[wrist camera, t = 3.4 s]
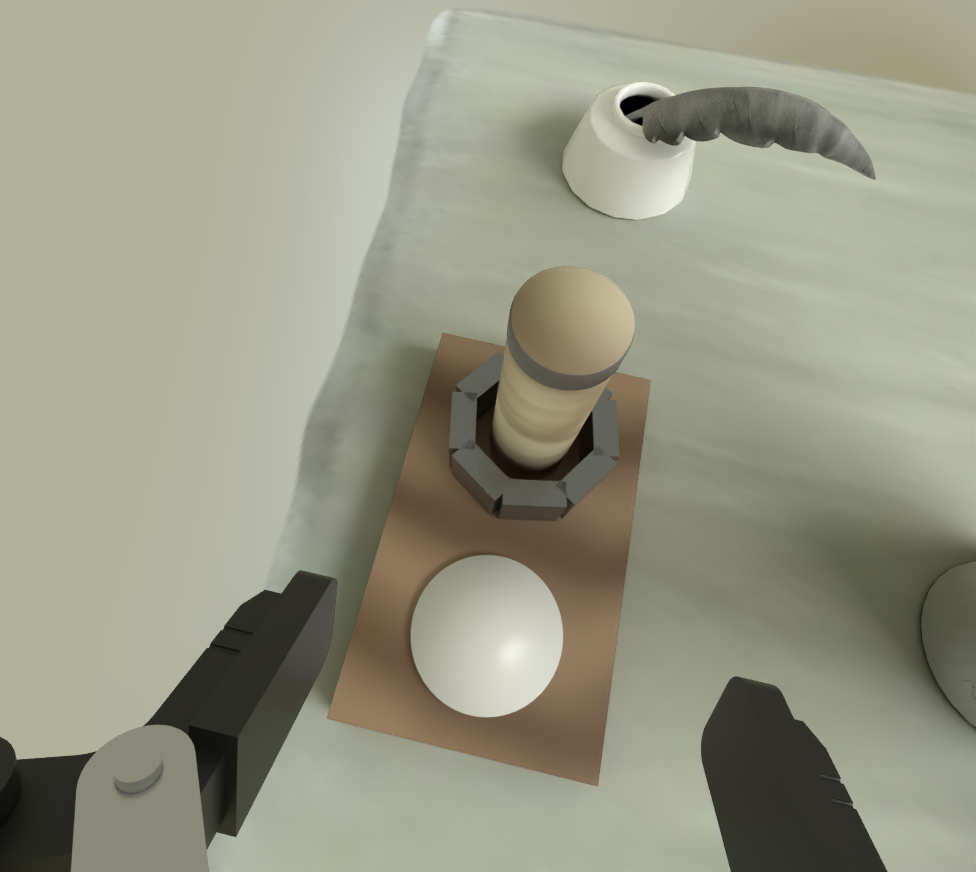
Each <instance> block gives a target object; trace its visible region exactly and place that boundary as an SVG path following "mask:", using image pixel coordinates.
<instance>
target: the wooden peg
mask: <svg viewBox="0 0 976 872" xmlns="http://www.w3.org/2000/svg"><path fill="white" fill-rule="evenodd" d="M634 329H635V319H634V313H633V310H632V307H631V305H630V303H629V300H628V299H627V297H626V296H625V294H624V293H623V292H622V290H621V289H620V288H619V287H618V286H617V285H616V284H615V283H613V282H612V281H611V280H609V279H608V278H606V277H605V276H603V275H601V274H599V273H597V272H595V271H592V270H589V269H585V268H581V267H574V266H562V267H554V268H550V269H547V270H544V271H541V272H539V273H537V274H536V275H534V276H533V277H531V278H530V279H529V280H527V281H526V282H525V283H524V284H523V285H522V287H521V288H520V289H519V291H518V292H517V294H516V296H515V297H514V300H513V302H512V305H511V309H510V315H509V321H508V327H507V341H506V347H505V353H504V358H503V364H502V370H501V376H500V381H499V387H498V393H497V399H496V405H495V410H494V416H493V422H492V428H491V434H490V440H489V449H490V454H491V457H492V459H493V461H494V463H495V465H496V466H497V467H498V468H499V469H500V470H501V471H502V472H503V473H504V474H505V475H507V476H509V477H510V478H513V479H521V480H542V479H544V478H546V477H548V476H550V475H551V474H552V473H554V472H555V471H556V470H557V468H558V467H559V466H560V464H561V462H562V461H563V459H564V457H565V455H566V454H567V452H568V450H569V449H570V447H571V445H572V443H573V442H574V440H575V438H576V436H577V435H578V433H579V431H580V430H581V428H582V426H583V424H584V423H585V421H586V419H587V418H588V416H589V414H590V412H591V411H592V409H593V407H594V406H595V404H596V402H597V400H598V399H599V397H600V395H601V394H602V392H603V390H604V388H605V387H606V385H607V383H608V382H609V380H610V378H611V376H612V375H613V374H614V373H615V371H616V370H617V369H618V367H619V366H620V364H621V362H622V361H623V359H624V357H625V355H626V354H627V352H628V350H629V348H630V346H631V344H632V341H633V337H634Z"/></svg>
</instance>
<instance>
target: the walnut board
mask: <svg viewBox="0 0 976 872" xmlns="http://www.w3.org/2000/svg"><path fill="white" fill-rule="evenodd" d="M498 351H500V352H501V353H502V354H503V355H504V353H505V347H503V346H498V345H494V344H489V343H485V342H481V341H476V340H472V339H468V338H463V337H459V336H454V335H450V334H446V333H442V337H441V340H440V343H439V347H438V350H437V353H436V357H435V360H434V363H433V367H432V370H431V373H430V377H429V380H428V383H427V387H426V390H425V393H424V397H423V400H422V403H421V407H420V410H419V413H418V417H417V420H416V423H415V427H414V430H413V433H412V437H411V440H410V443H409V447H408V450H407V453H406V456H405V460H404V463H403V466H402V470H401V473H400V476H399V480H398V483H397V486H396V490H395V493H394V496H393V500H392V503H391V506H390V510H389V513H388V516H387V520H386V523H385V526H384V530H383V533H382V536H381V540H380V543H379V546H378V550H377V553H376V556H375V560H374V563H373V566H372V570H371V573H370V576H369V580H368V583H367V586H366V590H365V593H364V596H363V600H362V603H361V606H360V610H359V613H358V616H357V620H356V623H355V626H354V630H353V633H352V636H351V640H350V643H349V646H348V649H347V653H346V656H345V659H344V663H343V666H342V669H341V673H340V676H339V679H338V683H337V686H336V689H335V693H334V696H333V699H332V703H331V706H330V709H329V713H328V716H327V719H330V720H334V721H338V722H342V723H346V724H350V725H354V726H358V727H362V728H366V729H370V730H374V731H378V732H382V733H386V734H390V735H394V736H398V737H402V738H406V739H410V740H414V741H418V742H422V743H426V744H430V745H434V746H438V747H442V748H446V749H450V750H454V751H458V752H462V753H466V754H470V755H474V756H478V757H482V758H486V759H490V760H494V761H498V762H502V763H506V764H510V765H514V766H518V767H522V768H526V769H530V770H534V771H538V772H542V773H546V774H550V775H554V776H558V777H562V778H566V779H570V780H574V781H578V782H582V783H586V784H590V785H594V786H598V781H599V774H600V766H601V758H602V750H603V743H604V735H605V727H606V720H607V712H608V704H609V697H610V689H611V681H612V673H613V666H614V658H615V650H616V643H617V635H618V627H619V620H620V612H621V604H622V597H623V589H624V581H625V573H626V566H627V558H628V550H629V543H630V535H631V527H632V520H633V512H634V504H635V497H636V489H637V481H638V473H639V466H640V458H641V450H642V443H643V435H644V427H645V420H646V412H647V404H648V396H649V389H650V381H651V380H647V379H643V378H638V377H634V376H630V375H625V374H621V373H616V372H615V373H614V374H613V375H612V376H611V378H610V380H609V382H608V383H607V385H606V388H607V389H608V390H609V391H611V392H612V393H613V394H612V396H611V398H610V399H609V400H616V405H617V421H618V438H619V455H620V457H619V458H618V459H617V460H616V461H615V462H616V463H617V464H616V465H615V466H614V467H613V468H612V470H611V471H610V472H609V473H608V474H607V475H606V476H605V477H604V479H603V480H602V481H601V482H600V483H599V484H598V485H597V486H596V487H595V488H594V489H593V490H592V491H591V492H590V493H589V494H588V495H587V496H585V497H584V498H583V499H582V500H581V501H580V502H579V503H578V504H577V505H576V506H575V507H574V508H573V509H572V510H571V511H570V512H569V513H568V514H567V515H566V516H565V517H564V518H563V519H562V518H561V517H560V516H559V518H558V519H557V520H556V521H555V522H554V521H532V520H509V519H498V510H497V511H495V512H494V513H493V514H492V515H491V516H490V515H489V513H488V512H487V511H486V510H485V509H484V508H483V507H482V506H481V505H480V504H479V503H478V502H477V501H476V500H475V499H474V498H473V496H472V495H471V494H470V493H469V492H468V491H467V490H466V489H465V488H464V487H463V486H462V485H461V484H460V483H459V482H458V481H457V480H456V478H455V477H454V476H453V475H452V468H449V439H450V423H451V406H452V392H456V385H457V384H458V383H459V382H460V381H462V380H463V379H464V378H465V377H467V376H468V375H469V374H470V373H472V372H473V371H474V370H475V369H477V368H478V367H479V366H480V365H482V364H483V363H484V362H485V361H487V360H488V359H489V358H490V357H492V356H493V355H494V354H495V353H497V352H498ZM494 410H495V406H494V407H492V408H491V409H490V410H489V411H488V412H486V413H485V414H484V415H483V416H482V417H481V418H479V419H478V420H477V421H476V434H475V444H476V445H477V446H478V447H479V448H480V449H481V450H482V451H483V452H484V453H485V454H486V455H487V456H488V457H489V458H490V459H491V460H492V461H493V459H492V457H491V454H490V449H489V440H490V434H491V428H492V422H493V416H494ZM493 462H494V461H493ZM579 463H580V444H579V433H578V435H577V436H576V438H575V440H574V442H573V443H572V445H571V447H570V449H569V450H568V452H567V454H566V455H565V457H564V459H563V461H562V462H561V464H560V466H559V467H558V468H557V470H556V471H555V472H554V473H552V474H551V475H550V476H548V477H546V478H544V479H542V481H561V480H562V479H563V478H564V477H565V476H566V475H567V474H568V473H569V472H571V471H572V470H573V469H574V468H575V467H576V466H577V465H578V464H579ZM506 476H507V475H506ZM507 477H508V478H509V479H513V478H510V477H509V476H507ZM478 555H495V556H502V557H506V558H509V559H512V560H514V561H517V562H519V563H521V564H523V565H524V566H526V567H528V568H529V569H530V570H532V571H533V572H534V573H535V574H536V575H537V576H538V577H540V578H541V580H542V581H543V582H544V583H545V584H546V586H547V587H548V588H549V590H550V592H551V593H552V595H553V597H554V599H555V601H556V603H557V606H558V609H559V612H560V615H561V620H562V626H563V646H562V652H561V657H560V661H559V664H558V667H557V669H556V671H555V674H554V676H553V677H552V679H551V681H550V682H549V684H548V685H547V687H546V688H545V689H544V690H543V692H542V693H541V694H540V695H539V696H538V697H537V698H536V699H535V700H533V701H532V702H531V703H529V704H528V705H526V706H525V707H523V708H521V709H519V710H517V711H515V712H513V713H510V714H507V715H503V716H498V717H476V716H471V715H467V714H464V713H461V712H459V711H456V710H454V709H452V708H451V707H449V706H447V705H446V704H444V703H443V702H442V701H441V700H439V699H438V698H437V697H436V696H435V695H434V694H433V693H432V692H431V691H430V690H429V688H428V687H427V686H426V684H425V683H424V681H423V680H422V678H421V676H420V674H419V672H418V670H417V667H416V664H415V662H414V658H413V654H412V648H411V624H412V618H413V614H414V611H415V607H416V605H417V603H418V600H419V598H420V596H421V594H422V593H423V591H424V589H425V588H426V587H427V585H428V584H429V583H430V581H431V580H432V579H433V578H434V577H435V576H436V575H437V574H438V573H440V572H441V571H442V570H443V569H444V568H446V567H448V566H449V565H451V564H453V563H455V562H457V561H459V560H461V559H465V558H468V557H472V556H478Z"/></svg>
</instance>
